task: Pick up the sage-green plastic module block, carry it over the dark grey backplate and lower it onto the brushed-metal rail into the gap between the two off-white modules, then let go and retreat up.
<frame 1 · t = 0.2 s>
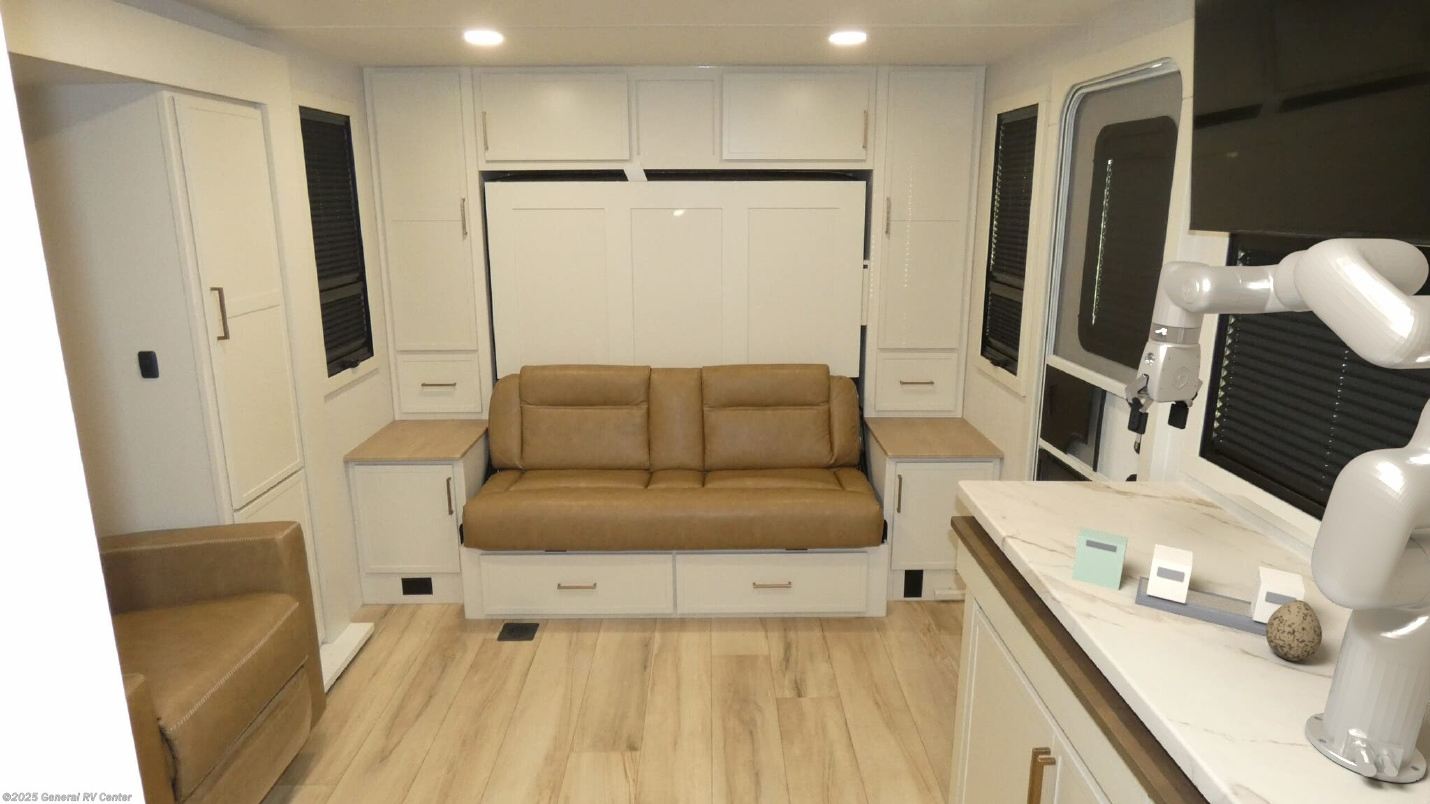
hand: (1156, 429, 142), 30 cm above the countertop, tool pointing down, fingers open, 9 cm apart
module block: (1096, 579, 151), on the countertop
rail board: (1216, 611, 141), on the countertop
decorative egg: (1287, 658, 127), on the countertop
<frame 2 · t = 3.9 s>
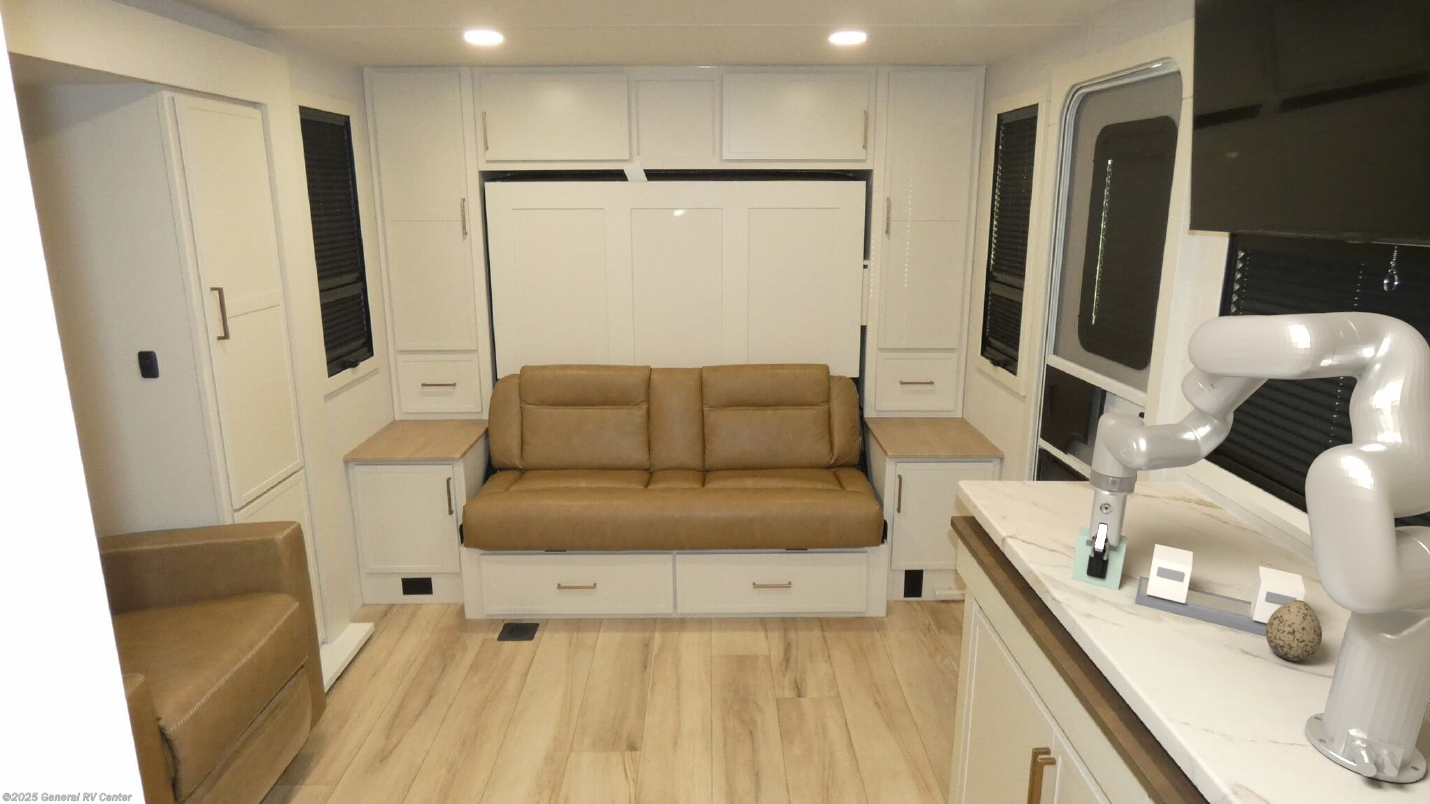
hand: (1097, 570, 151), 2 cm above the countertop, tool pointing down, fingers closed on module block, 4 cm apart
module block: (1096, 579, 151), on the countertop, touching gripper
everything else where it was.
when the fingers open (5 cm above the countertop, at t = 11.1 s): module block drops 1 cm, resting on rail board.
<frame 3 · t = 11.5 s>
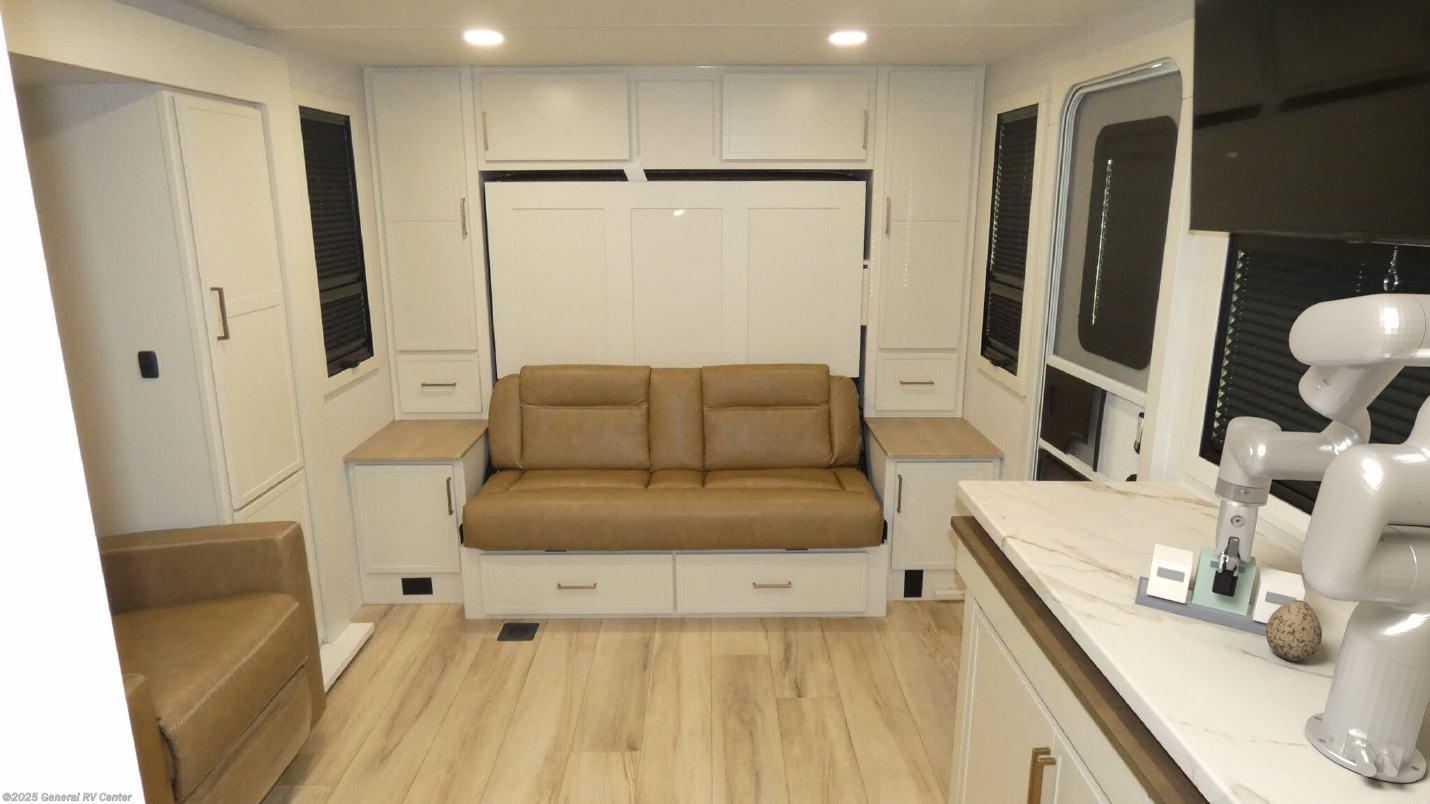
hand: (1222, 583, 140), 5 cm above the countertop, tool pointing down, fingers open, 8 cm apart
module block: (1218, 603, 140), point 2 cm above the countertop, touching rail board
everything else where it was.
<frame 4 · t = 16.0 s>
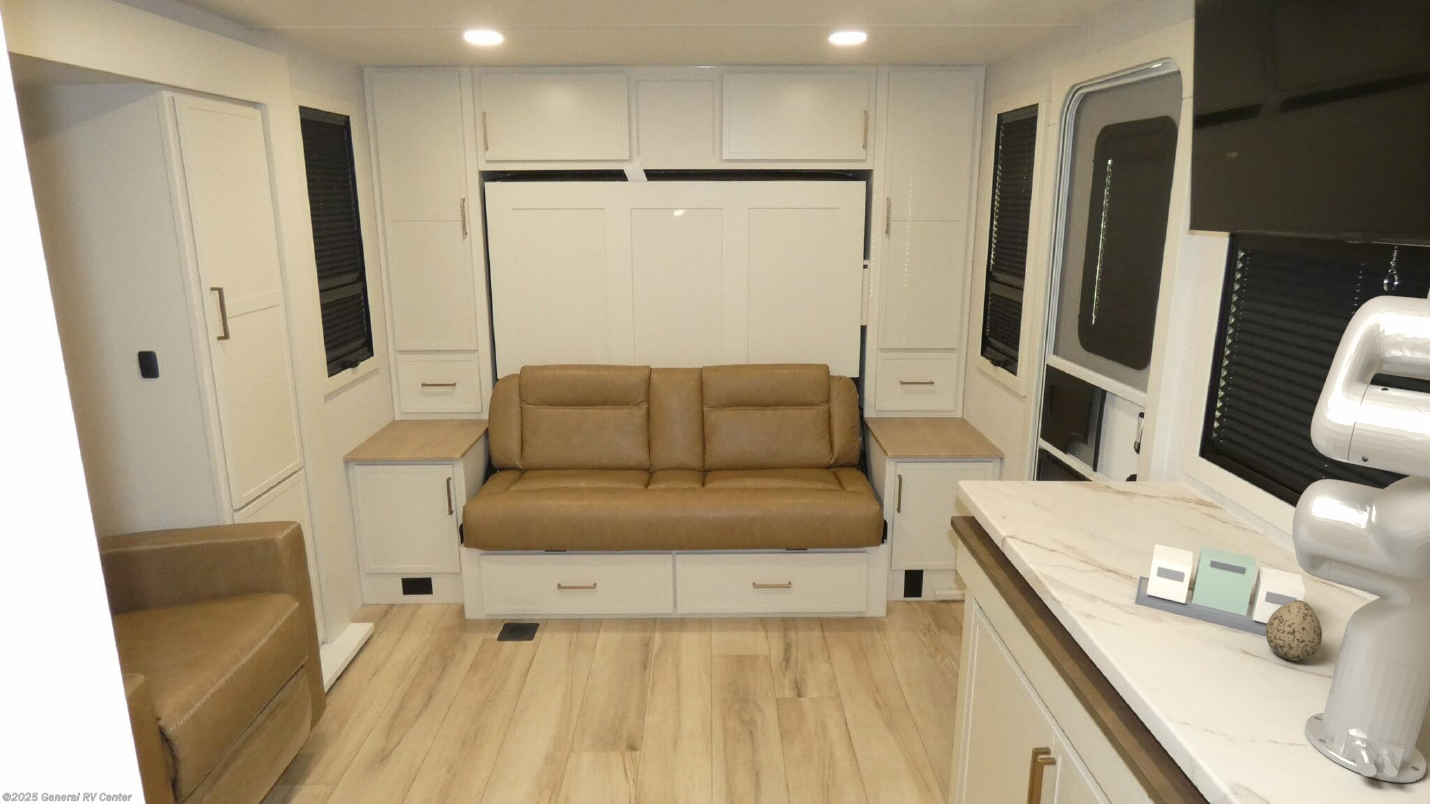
nothing on the countertop moved.
at the end: module block 0.1 cm off-centre on the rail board, point 1.6 cm above the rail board's base; module block tilted 0°; the gripper is holding nothing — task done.
